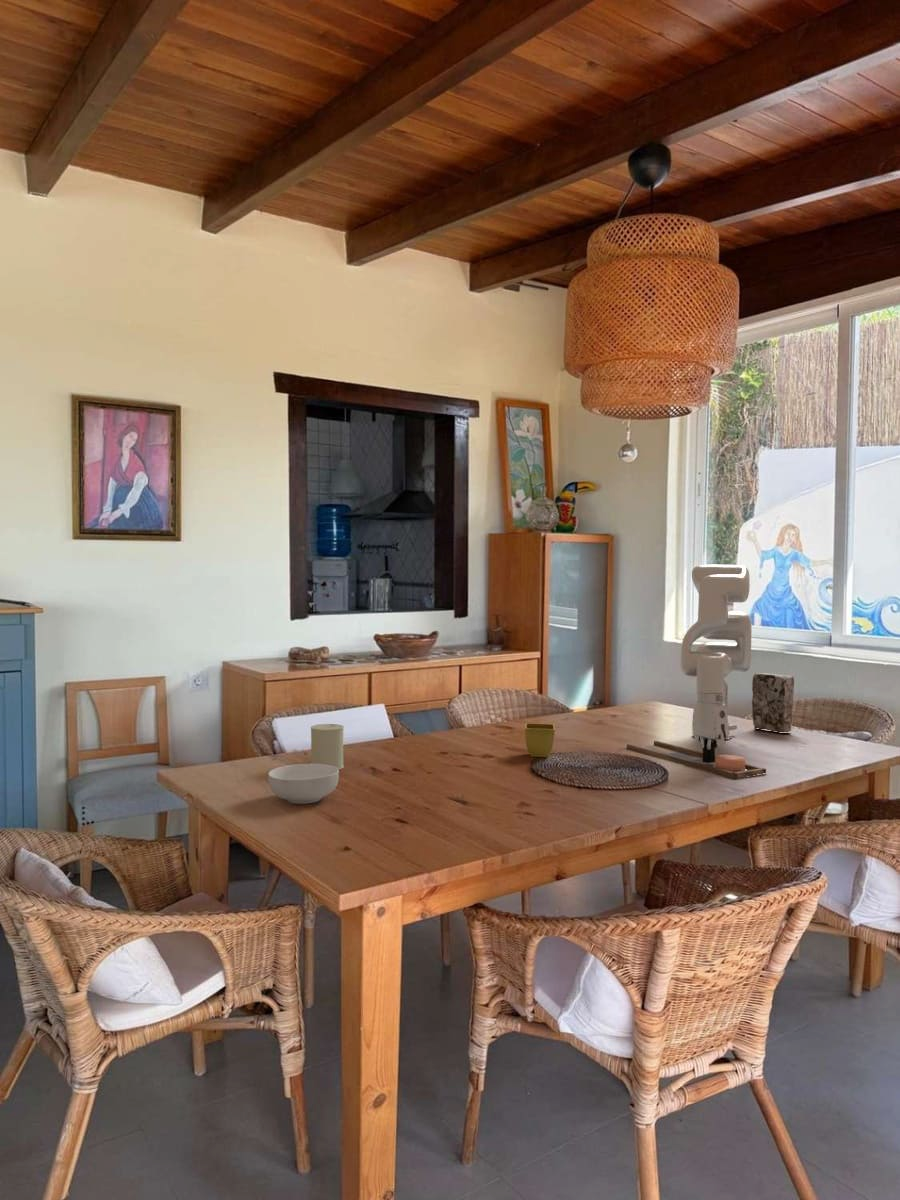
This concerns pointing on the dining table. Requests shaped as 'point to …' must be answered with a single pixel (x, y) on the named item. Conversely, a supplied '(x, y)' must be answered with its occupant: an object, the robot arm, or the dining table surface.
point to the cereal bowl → (303, 782)
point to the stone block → (772, 701)
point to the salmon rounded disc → (730, 763)
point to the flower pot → (539, 739)
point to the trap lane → (692, 759)
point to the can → (327, 745)
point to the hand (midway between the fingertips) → (708, 761)
